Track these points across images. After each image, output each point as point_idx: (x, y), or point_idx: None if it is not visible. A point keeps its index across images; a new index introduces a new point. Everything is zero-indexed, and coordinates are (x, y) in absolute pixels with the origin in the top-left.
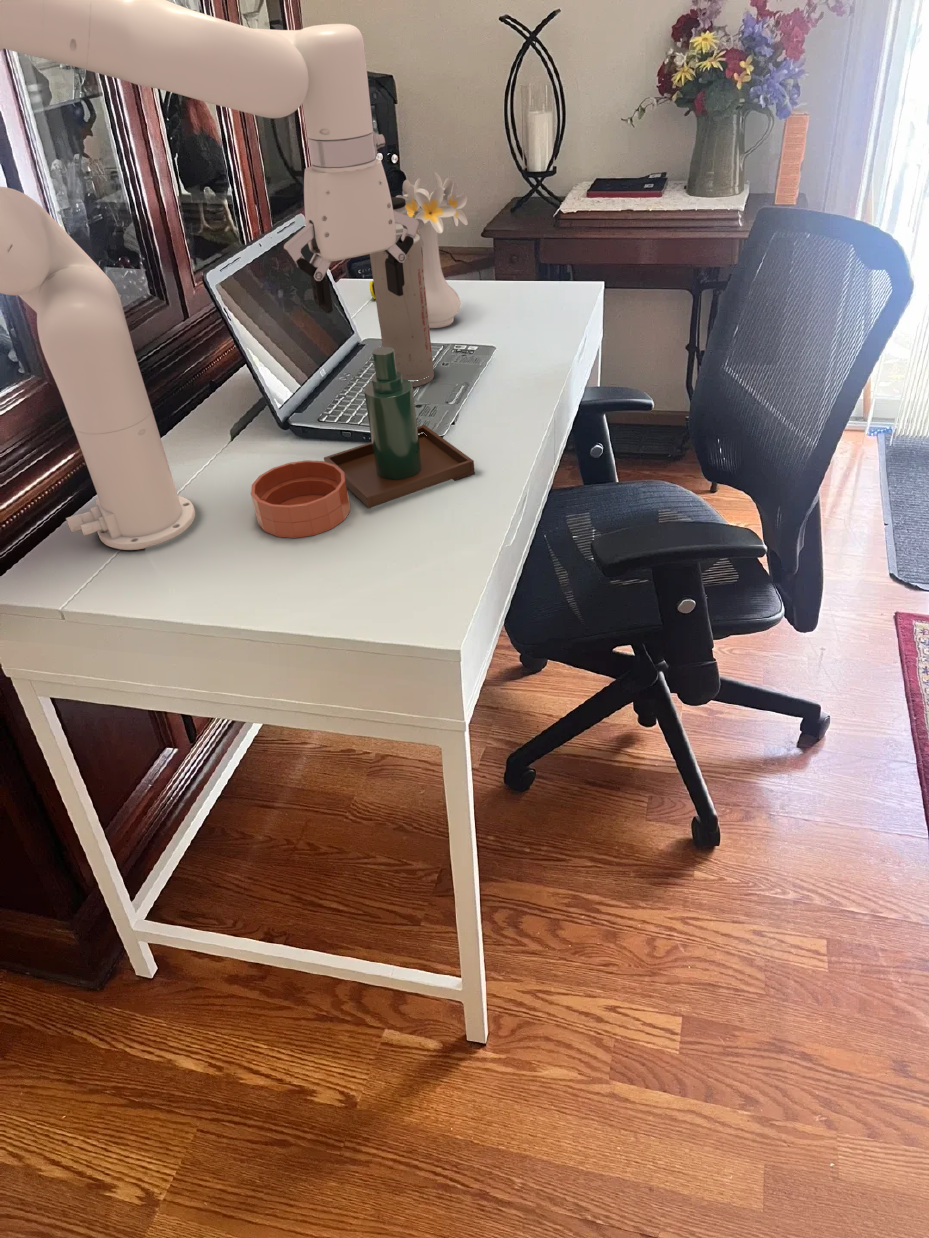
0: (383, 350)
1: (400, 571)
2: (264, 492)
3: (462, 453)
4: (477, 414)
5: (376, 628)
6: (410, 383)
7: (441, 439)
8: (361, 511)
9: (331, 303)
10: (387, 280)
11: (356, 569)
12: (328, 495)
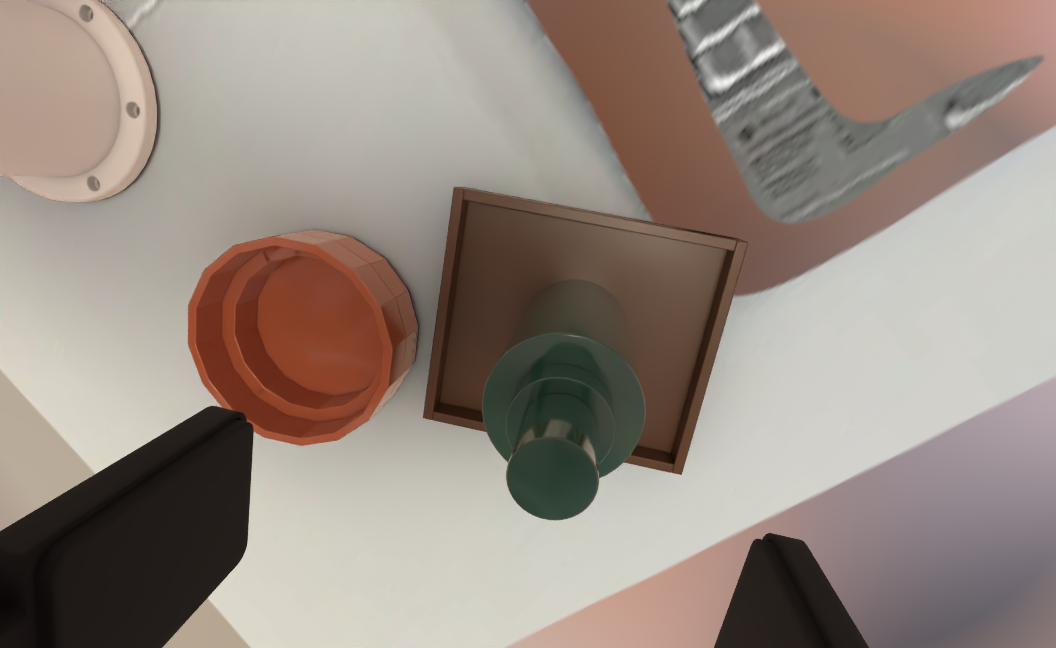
0: (554, 479)
1: (366, 579)
2: (255, 254)
3: (690, 433)
4: (931, 241)
5: (269, 644)
6: (630, 447)
7: (712, 344)
8: (421, 393)
9: (209, 589)
10: (780, 597)
11: (317, 526)
12: (311, 441)
